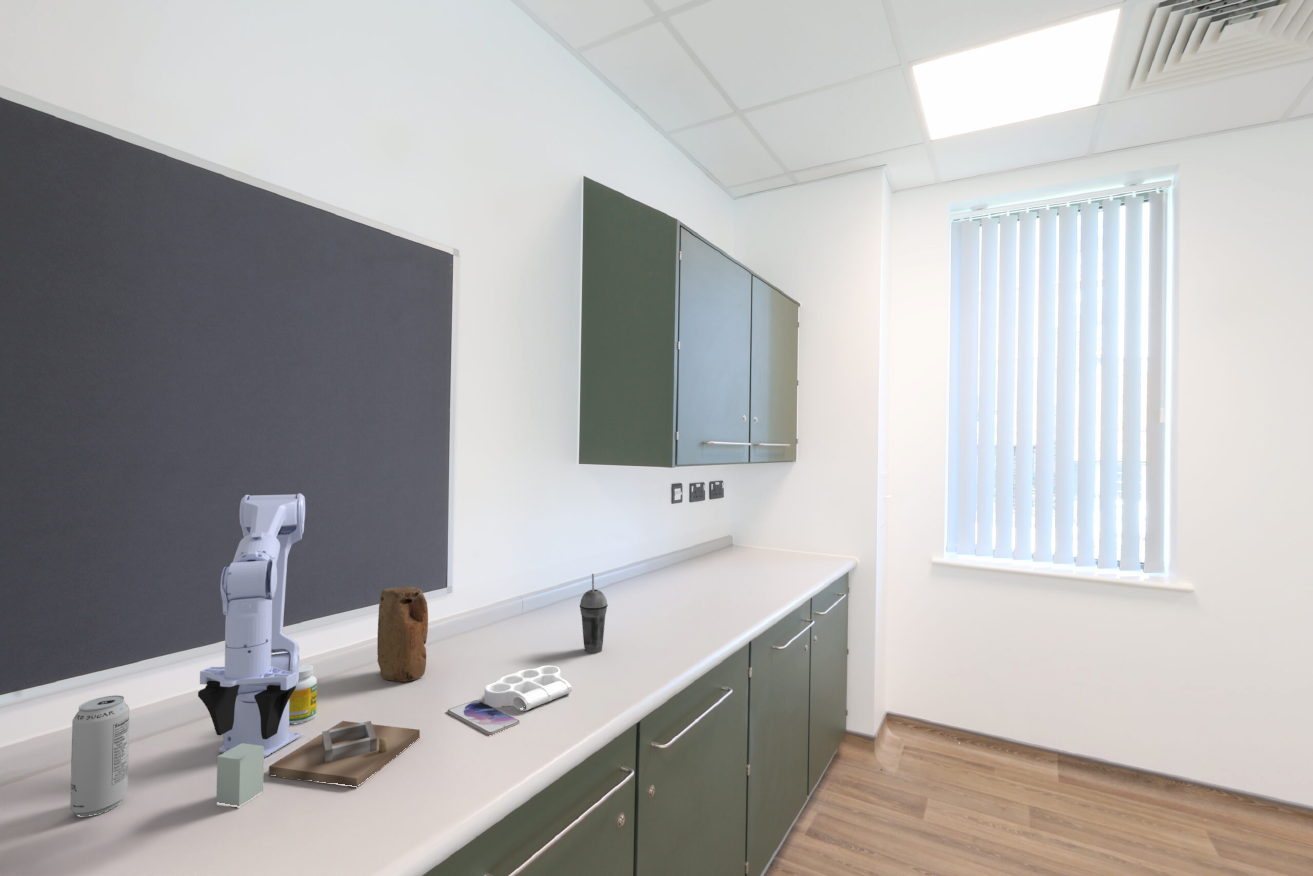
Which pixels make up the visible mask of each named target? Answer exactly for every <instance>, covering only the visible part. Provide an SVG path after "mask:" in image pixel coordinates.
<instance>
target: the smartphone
mask: <svg viewBox="0 0 1313 876" xmlns="http://www.w3.org/2000/svg"><path fill="white" fill-rule="evenodd" d="M446 712H447V714H448V713H449V714H448V715H450V714H451V716H452V715H453V716H452V717H454V716H455V717H454V718H455V719H457V718H458V720H459V719H460V720H459V721H461V722H462V723H465V724H466V725H468V724H469V725H468V726H471V728H472V727H473V728H474V729H475V730H477V729H478V730H477V731H480V732H481V733H483V734H484V733H485V735H486V734H487V736H489V735H491V736H494V735H496V734H495V733H497V734H499V733H501V732H503V730H504V731H506V730H508V728H509V729H511V728H513V727H515V726H518V725H520V724H521V721H520V720H519V719H518V718H515V717H513V716H511V715H509V714H508V713H505V712H503V711H501V710H499V709H497V708H496V707H491V706H489V705H487V704H485V702H482V701H480V700H477V699H476V700H472V701H469V702H466V703H465V702H464V703H463V704H460V705H456V706H454V707H452V708H448V709H447V710H446ZM519 723H520V724H519ZM510 727H511V728H510ZM505 729H506V730H505ZM500 731H501V732H500ZM498 732H499V733H498ZM493 734H494V735H493Z"/></svg>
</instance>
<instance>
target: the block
mask: <svg viewBox="0 0 1313 876" xmlns="http://www.w3.org/2000/svg"><path fill="white" fill-rule="evenodd" d="M378 603H379V605H378V617H377V618H378V619H377V641H376V642H377V650H376V651H377V653H376V654H377V664H378V666H379V669H380V671H379V674H380V677H382V678H383V679H385V680H386V681H387V680H388V681H391V682H395V681H397V682H404V683H406V682H412V681H415V680H418V679H420V678H422V677H423V676H424V674H425V673H426V668H427V648H426V647H425V646H426V645H425V644H426V643H427V638H428V631H429V630H428V629H429V609H428V602H427V600H426V597H425V594H424V592H423V591H422V589H420V588H418V587H414V586H408V585H402V586H399V587H398V586H397V587H389V588H384V589H382V590H381V592H380V596H379V602H378Z"/></svg>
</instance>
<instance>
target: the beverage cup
mask: <svg viewBox="0 0 1313 876" xmlns="http://www.w3.org/2000/svg"><path fill="white" fill-rule="evenodd" d="M607 601H608V600H607V597H606V595H605V594H604V593H603V592H602V591H601V590H599V589H595V573H591V589H590V590H587V591H586V592H584V593H583V595H582V596H581V599H580V602H579V603H580V604H579V608H580V609H579V610H580V615H581V625H582V639H583V648H584V652H585V653H587V654H598V653H599V654H600V653H601V652H603V644H604V636H605V635H604V634H605V624H606V623H605V622H606V615H607V609H608V602H607Z"/></svg>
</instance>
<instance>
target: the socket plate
mask: <svg viewBox="0 0 1313 876" xmlns="http://www.w3.org/2000/svg"><path fill="white" fill-rule="evenodd" d="M420 732H421V730H420V729H415V728H409V727H408V728H407V727H400V726H398V727H397V726H390V725H381V724H375V723H373V724H372V720H368V721H365V722H354V721H345V720H342V721H340V722H339V723H337V724H335V725H334V726H332V727H330V728H329V729H327V730H323V731H321V734H319V735H318V736H316V737H314V738H313V739H311V740H309V741H308V742H306V743H304V744H303V745H301V746H300V747H298V748H296V749H295V750H293V751H291V752H290V753H288V754H287V755H285V756H283V757H282V758H280V759H278V760H277V761H275V762H274V763H272V764H271V765H269V766H268V776H269V775H276V776H279V777H278V778H281V777H285V778H284V779H288V778H292V779H291V780H295V779H300V780H299V781H302V780H312V781H319V782H326V783H338V784H345V785H352V786H358V785H359V784H361V783H362V782H364V781H365V780H366V779H367V778H369V777H370V776H371V775H372V774H374V773H375V772H377V771H378V770H379V769H380V770H382V769H383V768H384V767H385V766H387V765H388V764H389V763H390V762H392V761H393V760H394V759H396V758H397V757H396V755H398V754H399V753H400V752H402V751H403V750H404V749H405V748H407V747H408V746H409V745H410V744H412V743H413V742H414V743H415V742H417V741H418V740H419V739H420V738H421V737H420V735H421V733H420ZM418 738H419V739H418ZM417 739H418V740H417ZM416 740H417V741H416ZM414 743H413V744H414ZM413 744H412V745H413ZM410 746H411V745H410ZM410 746H409V747H410ZM409 747H408V748H409ZM408 748H407V749H408ZM405 750H406V749H405ZM405 750H404V751H405ZM404 751H403V752H404ZM403 752H402V753H403ZM400 754H401V753H400ZM400 754H399V755H400ZM399 755H398V756H399ZM392 759H393V760H392ZM391 760H392V761H391ZM389 761H390V762H389ZM388 762H389V763H388ZM387 763H388V764H387ZM386 764H387V765H386ZM384 765H385V766H384ZM383 766H384V767H383ZM382 767H383V768H382ZM381 768H382V769H381ZM380 770H379V771H380ZM379 771H378V772H379ZM378 772H377V773H378ZM375 774H376V773H375ZM375 774H374V775H375ZM370 778H371V777H370ZM370 778H369V779H370ZM365 782H366V781H365ZM365 782H364V783H365ZM361 785H362V784H361Z"/></svg>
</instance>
